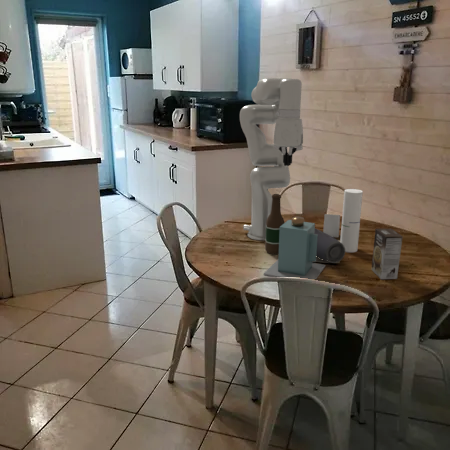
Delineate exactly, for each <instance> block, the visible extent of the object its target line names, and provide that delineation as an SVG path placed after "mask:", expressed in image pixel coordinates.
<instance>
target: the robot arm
mask: <svg viewBox="0 0 450 450" xmlns="http://www.w3.org/2000/svg"><path fill="white" fill-rule="evenodd" d="M302 85H303V84H302V81H301V80H300V79H298V78H279V77H278V78H272V77H271V78H269V77H268V78H263V79H260V80H258V81H257V84H256V86H255V87H254V88H253V89H252V91H251V95H250V96H251V99H252V102H254V103H255V104H248V105H245V106H243V107H242V108H241V109H240V111H239V122H240V127H241V129H242V132H243V134H244V136H245V138H246V143H247V148H248V154H249V155H248V156H249V159H250V160H249V161H250V162H251V164H252V165H253V166H255V168H253V169H252V170H251V171H250V174H249V180H250V181H249V182H250V187H251V220H250V222H251V224H250V225H248V224H243V225H242V226H243V231H248V232H247V237H248V238H249V239H252V240H256V241H265V238H266V220H267V218H268V216H269V215H270V213H271V207H272V195H273V194H272V193H271V192H270V191H269V189H282V188H287V187H288V186H289V185H290V183H291V174H290V168H289V166H292V164H293V154H295V153H296V152H298V151H302V150H303V143H304V127H303V120H302V118H301V106H302V104H301V102H302ZM273 124H274V131H273V143H271V144H269V143H268V142H267V138H266V137H267V136H266V134H265V133H264V131H263V130H262V129H261V128H260V127H258V125H273Z"/></svg>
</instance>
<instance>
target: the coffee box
mask: <svg viewBox="0 0 450 450" xmlns="http://www.w3.org/2000/svg"><path fill="white" fill-rule="evenodd" d="M402 245H403V235H401V234H400V233H398V231H395V229H393V228H375V230H374V240H373V251H372V259H371V260H372V261H371V271H372V272H373V273H374V274H376V276H377V277H378V278H379V279H380V280H397V279H398V274H399V268H400V267H399V266H400V259H401V254H402V253H401V251H402Z"/></svg>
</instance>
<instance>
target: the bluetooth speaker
mask: <svg viewBox="0 0 450 450" xmlns="http://www.w3.org/2000/svg"><path fill="white" fill-rule="evenodd" d="M314 234H318V240H317V255H316V256H317V257H316V258H318V257H319V258H320V259H319V258H318V259H319V260H321V259H323V260H322V261H324V260H325V261H326V262H329V263H332V264H336V263H338V262H339V263H340V261H342V260H343V259H344V257H345V255H346V252H345V247H344V245H343V244H342V243H340V241H339V240H338V239H336V237H331V236H330V235H328V234H326V233H324V232H323V231H322V230H320V229H318V228H315V231H314Z"/></svg>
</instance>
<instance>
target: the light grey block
mask: <svg viewBox="0 0 450 450" xmlns="http://www.w3.org/2000/svg"><path fill="white" fill-rule="evenodd" d="M323 217H324V219H323V220H324V221H323V231H322V232H324V233H326V234H328V235H330V236H331V237H333V238H339V237H340V235H339V234H340V223H341V214H330V213H329V214H328V213H324V216H323Z"/></svg>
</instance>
